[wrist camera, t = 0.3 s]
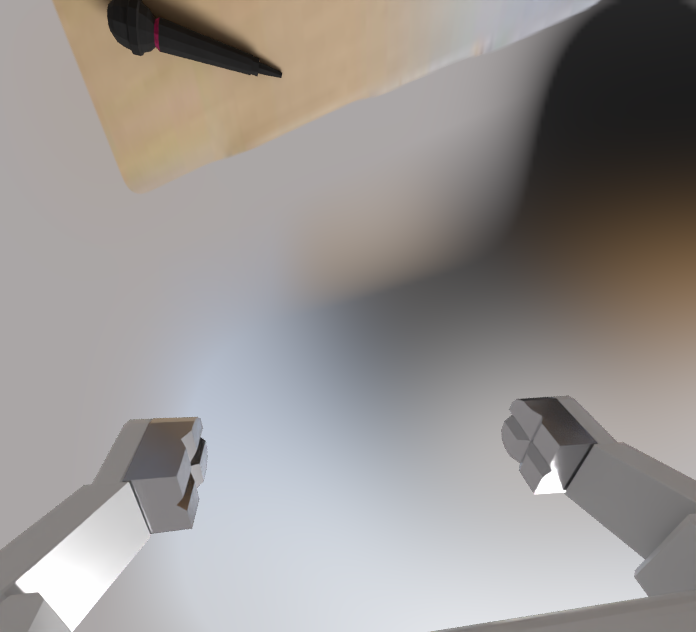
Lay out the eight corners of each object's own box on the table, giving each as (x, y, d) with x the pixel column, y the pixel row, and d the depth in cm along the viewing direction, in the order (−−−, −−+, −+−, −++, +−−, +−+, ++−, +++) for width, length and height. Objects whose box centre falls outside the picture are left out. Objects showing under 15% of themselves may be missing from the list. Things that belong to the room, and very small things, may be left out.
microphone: (282, 50, 48) (111, -12, 40) (288, 52, 44) (98, -18, 36) (275, 95, 51) (115, 45, 43) (280, 101, 47) (103, 46, 39)
